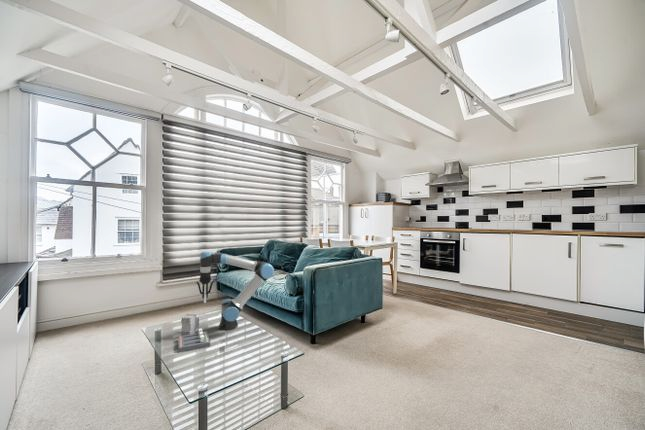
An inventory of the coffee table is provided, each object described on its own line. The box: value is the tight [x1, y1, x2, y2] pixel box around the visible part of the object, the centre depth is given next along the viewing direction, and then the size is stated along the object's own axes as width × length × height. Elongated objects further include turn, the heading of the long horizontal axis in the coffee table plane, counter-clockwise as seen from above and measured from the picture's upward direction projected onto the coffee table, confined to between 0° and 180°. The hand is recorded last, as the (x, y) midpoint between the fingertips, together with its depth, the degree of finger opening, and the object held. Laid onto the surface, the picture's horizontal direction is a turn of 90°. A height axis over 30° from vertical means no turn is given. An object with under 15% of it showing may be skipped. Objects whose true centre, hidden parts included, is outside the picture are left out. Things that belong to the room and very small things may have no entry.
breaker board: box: [177, 331, 211, 353], centre depth 203 cm, size 20×22×3 cm
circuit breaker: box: [180, 313, 200, 336], centre depth 220 cm, size 8×14×15 cm, turn 174°
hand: (204, 302), depth 215 cm, fingers closed
